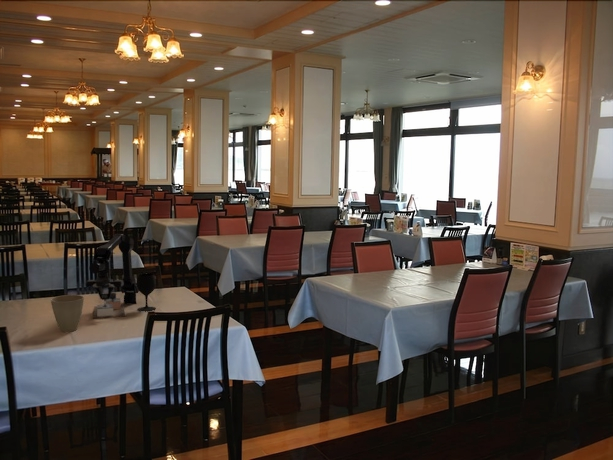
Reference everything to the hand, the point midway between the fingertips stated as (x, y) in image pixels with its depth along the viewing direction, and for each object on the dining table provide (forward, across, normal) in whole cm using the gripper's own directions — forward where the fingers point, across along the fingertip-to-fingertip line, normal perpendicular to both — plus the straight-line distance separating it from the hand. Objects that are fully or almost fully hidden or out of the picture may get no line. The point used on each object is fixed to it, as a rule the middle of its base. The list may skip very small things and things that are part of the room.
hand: (105, 299), depth 302 cm
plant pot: (+9, -9, -29) cm, 32 cm away
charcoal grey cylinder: (+8, 0, +14) cm, 17 cm away
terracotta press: (+9, 0, +14) cm, 17 cm away
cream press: (+9, 0, 0) cm, 9 cm away
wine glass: (+9, +19, +13) cm, 25 cm away
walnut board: (+9, 0, +7) cm, 12 cm away
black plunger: (+5, 0, 0) cm, 5 cm away
